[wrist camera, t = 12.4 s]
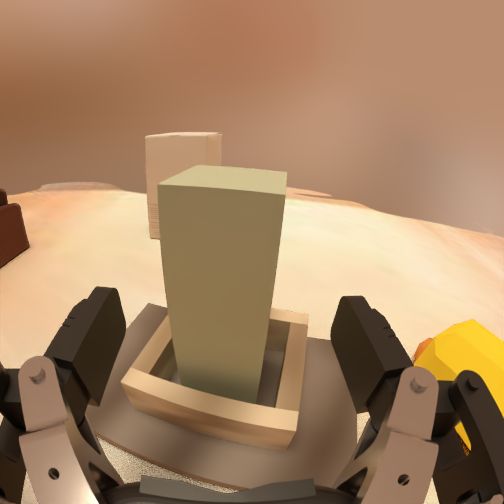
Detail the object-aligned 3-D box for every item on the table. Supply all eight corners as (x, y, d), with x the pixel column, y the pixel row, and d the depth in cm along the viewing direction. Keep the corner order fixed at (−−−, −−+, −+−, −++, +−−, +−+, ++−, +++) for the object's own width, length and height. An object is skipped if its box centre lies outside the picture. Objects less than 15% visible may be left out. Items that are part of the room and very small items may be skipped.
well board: (70, 419, 12) (42, 384, 10) (150, 313, 24) (143, 275, 22) (346, 500, 9) (379, 483, 8) (348, 352, 21) (363, 315, 19)
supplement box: (220, 222, 45) (224, 132, 38) (206, 245, 37) (209, 134, 30) (170, 218, 46) (170, 131, 39) (147, 238, 38) (143, 135, 31)
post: (183, 397, 15) (157, 184, 9) (201, 349, 19) (197, 164, 13) (254, 411, 15) (285, 194, 9) (262, 359, 19) (287, 172, 13)
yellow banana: (493, 512, 4) (530, 453, 6) (562, 470, 1) (580, 405, 3) (383, 373, 19) (433, 345, 21) (416, 310, 16) (462, 289, 18)
